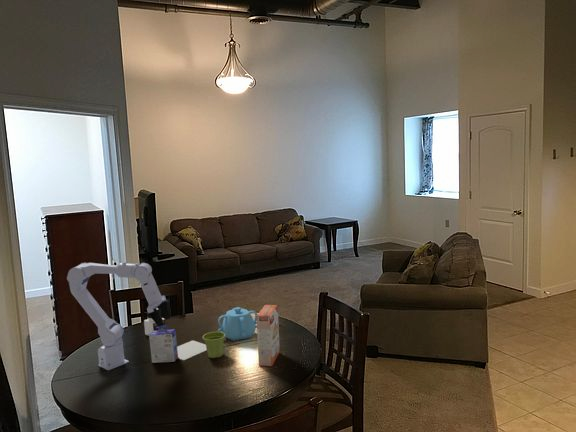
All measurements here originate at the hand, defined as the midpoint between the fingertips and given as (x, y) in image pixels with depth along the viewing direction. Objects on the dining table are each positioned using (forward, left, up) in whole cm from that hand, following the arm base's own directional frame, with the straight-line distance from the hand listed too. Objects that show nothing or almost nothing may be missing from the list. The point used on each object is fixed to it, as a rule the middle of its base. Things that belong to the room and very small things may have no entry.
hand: (164, 322), depth 195 cm
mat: (+12, +2, -17) cm, 21 cm away
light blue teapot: (+36, -5, -17) cm, 40 cm away
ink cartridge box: (0, +2, -17) cm, 17 cm away
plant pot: (+15, -12, -17) cm, 26 cm away
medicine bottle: (+16, +32, -17) cm, 39 cm away
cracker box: (+25, -34, -17) cm, 46 cm away
